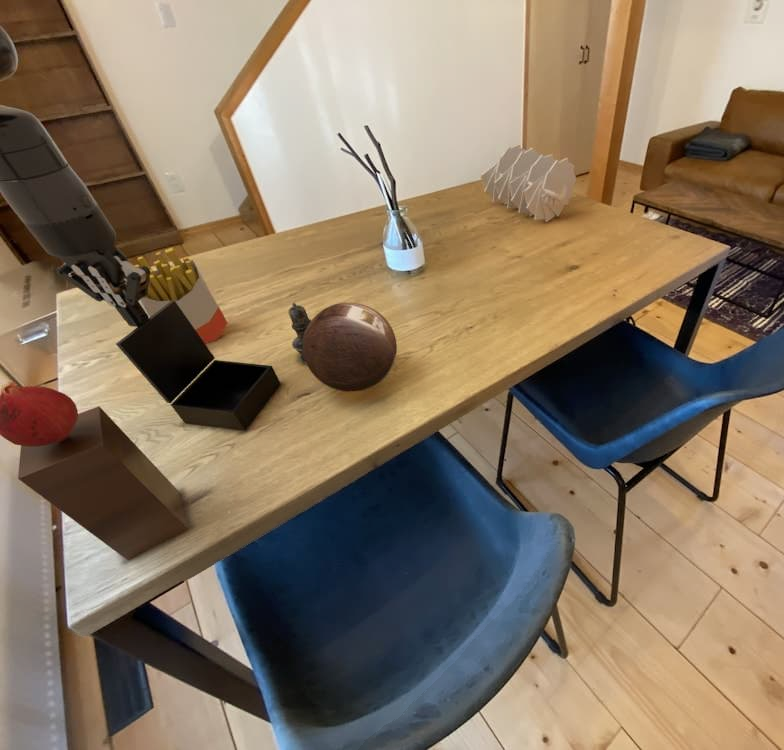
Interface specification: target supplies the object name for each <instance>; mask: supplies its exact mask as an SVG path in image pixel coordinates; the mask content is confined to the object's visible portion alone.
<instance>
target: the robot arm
mask: <svg viewBox="0 0 784 750" xmlns="http://www.w3.org/2000/svg"><path fill="white" fill-rule="evenodd" d="M18 65H19V56H18V52H17V50H16V47H15V44H14V42H13V40H12V39H11V37H10V35H9V34H8V33H7V31H5V29H4V28H3V27H2V26H1V25H0V83H2V82H4V81H7V80H9V79H10V78H12V77H13V75H14V74H15V73H16V71H17V69H18ZM66 159H67V158H66V157H64V154H63V153H62V151H61V150H60V149H59V147H58V145H57V144H56V142H55V140H54V139H53V138H52V136H51V135H50V133H49V132H48V130H47V129H46V128H45V126H44V125H43V124H42V122H41V121H40V119H38V118H37V116H35V115H34V114H33V113H31V112H30V111H27V110H24V109H20V108H16V107H11V106H8V105H3V104H0V194H1V195H2V197H3V199H4V200H5V201H6V203H7V204H8V205H9V207H10V208H11V209H12V211H13V212H14V213H15V214H16V215H17V217H18V218H19V220H20V221H21V222H22V224H23V225H24V226H25V227H26V228H27V230H28V231H29V232H30V233H31V234H32V236H33V237H34V239H35V240H36V241H37V242H38V244H39V245H40V246H41V247H42V248H43V250H44V251H45V252H46V253H47V254H48V255H50V256H52V257H56V258H60V259H61V261H62V262H63V264H62V265H61V266H58V267H57V268H55V272H56V275H58V276H60V277H61V278H63V279H64V280H65V281H67V282H68V283H70V284H71V285H73V286H75V287H76V288H77V289H79V290H80V291H81V292H83V293H84V294H87V295H88V296H89V297H91V298H92V299H94V300H95V301H97V302H99V303H100V302H102V301H104V302H106V303H107V304H108V305H109V306H111V307H114V308H115V310H116V311H117V312H118V313H119V315H120V316H121V318H122V320H124V321H125V322H126V324H127V325H128V326H129V327H134V328H137V327H138V326H140V325H141V324H142V323H143V322H145V321H146V320H147V319H149V317H148V315H147V313H146V312H145V310H144V309H143V307H142V306H141V304H140V303H139V300H140V299H141V298H143V297H145V296H146V295H147V292H148V285H149V279H150V270H149V269H148V268H147V267H146V266H141V265H140V268H137V267H136V266H134V264H132V263H131V262H129V261H128V257H127V256H126V255H125V253H123V251H121V250H120V249H119V248H118V247H117V246H116V239H117V232H116V230H115V229H114V228H113V226H112V224H111V223H110V221H109V219H108V218H107V217H106V215H105V214H104V212H103V211H102V209H101V207H100V206H99V204H98V202H97V201H96V200H95V198H94V196H93V195H92V194H91V192H90V191H89V188H88V187H87V186H86V184H85V182H84V181H83V180H82V179H81V178H80V176H78V174H77V172H75V171H74V170H73V168H72V167H71V165H70V164H69V163H68V161H67V160H66Z"/></svg>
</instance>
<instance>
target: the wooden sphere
mask: <svg viewBox="0 0 784 750" xmlns="http://www.w3.org/2000/svg"><path fill="white" fill-rule="evenodd" d="M310 320H311V322H310V323H309V325H308V327H307V329H306V331H305V334H304V338H303V354H304V358H305V361H306V364H305V365H306V366H307V368H308V369H309V372H310V373H311V374H312V375H313V376H314V377H315V379H317V380H318V381H319V382H320V383H322V384H323V385H325V386H327V387H329V388H331V389H333V390H336V391H341V392H348V393H349V392H350V393H351V392H361V391H364V390H368V389H371V388H372V387H374V386H376V385H378V384H379V383H381V382H382V380H384V379H385V378H386V377H387V376H388V374H389V373H390V371H391V370H392V368H393V366H394V364H395V362H396V358H397V351H398V345H397V338H396V335H395V332H394V330H393V328H392V325H391V324H390V323H389V322H388V320H387V319H386V318H385V317H384V315H382V314H381V313H380V312H379V311H378V310H376V309H374V308H372V307H370V306H368V305H366V304H363V303H358V302H340V303H339V302H338V303H336V304H332V305H330V306H328V307H325V308H323V309H322V310H321V311H319V312H318V313H317V314H316V315H315V316H314V317H313V318H312V319H310Z"/></svg>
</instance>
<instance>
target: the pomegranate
mask: <svg viewBox="0 0 784 750" xmlns="http://www.w3.org/2000/svg"><path fill="white" fill-rule="evenodd" d="M77 407H78V406H77V405H76V403H75V401H74V400H73V399H72V398H71V397H70V396H69V395H67V394H66V393H63V392H61V391H59V390H56V389H54V388H51V387H47V386H39V385H27V386H19V385H18V383H16V382H12V381H8V382H6V383H4V384H2V385H1V388H0V436H1V437H2V438H4V439H5V440H7V441H8V442H10V443H11V444H14V445H16V446H20V447H21V446H29V447H38V446H45V445H49V444H53V443H56V442H61V441H64V440H65V439H67V438H68V436H69V435H70V432H71V431H72V430H73V428H74V426H75V424H76V421H77V419H78V414H79V412H78V411H79V410H78V408H77Z"/></svg>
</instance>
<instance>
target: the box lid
mask: <svg viewBox="0 0 784 750" xmlns="http://www.w3.org/2000/svg"><path fill="white" fill-rule="evenodd" d="M115 346H117V348H119V350H120V351H121V352H122V353H123V354H124V355H125V356H126V357H127V359H128V360H129V362H131V363H132V364H133V366H134V367H135V368H136V369H137V370H138V372H140V373H141V375H142V376H143V377H144V378H145V379H146V380H147V382H148V383H149V384H150V385H151V386H152V387H153V389H154V390H155V391H156V392H157V393H158V394H159V396H160V397H161V398H162V399H163V400H164V401H165V403H167V404H172V403H173V402H174V401H175V400H176V399H177V398H178V397H179V396H180V395H181V394H182V393H183V392H184V391H185V390H186V389H187V388H188V387H189V386H190V385H191V384H192V383H193V381H194V380H195V379H196V378H197V377H198V376H199V375H200V374H201V373H202V372H203V371H204V370H205V369H206V368H207V367H208V366H209V365H210V364H211V363H212V362H213V361H214V360H216V358H215V356H214V354H213V353H212V351H211V350H210V348H209V347H208V346H207V343H204V342H203V340H202V339H201V337H200V336H199V334H198V333H197V332H196V330H195V329H194V327H193V326H192V325H191V323H190V322H189V320H188V319H187V317H186V316H185V315H184V313H183V312H182V310H181V309H180V307H179V306H178V305H177V303H176V302H175V301H170V302H169V303H168V304H167V305H165V306H164V307H163V308H161V309H160V310H159V311H158V312H156V313H155V314H154V315H152V316H151V317H150V318H149V319H147V320H146V321H145V322H143V323H142V324H141V325H140V326H138V327H135V328H134V329H133V330H132V331H131V332H129V333H128V334H127V335H125V336H124V337H123V338H121V339H120V340H119V341H118V342H116V343H115Z"/></svg>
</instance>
